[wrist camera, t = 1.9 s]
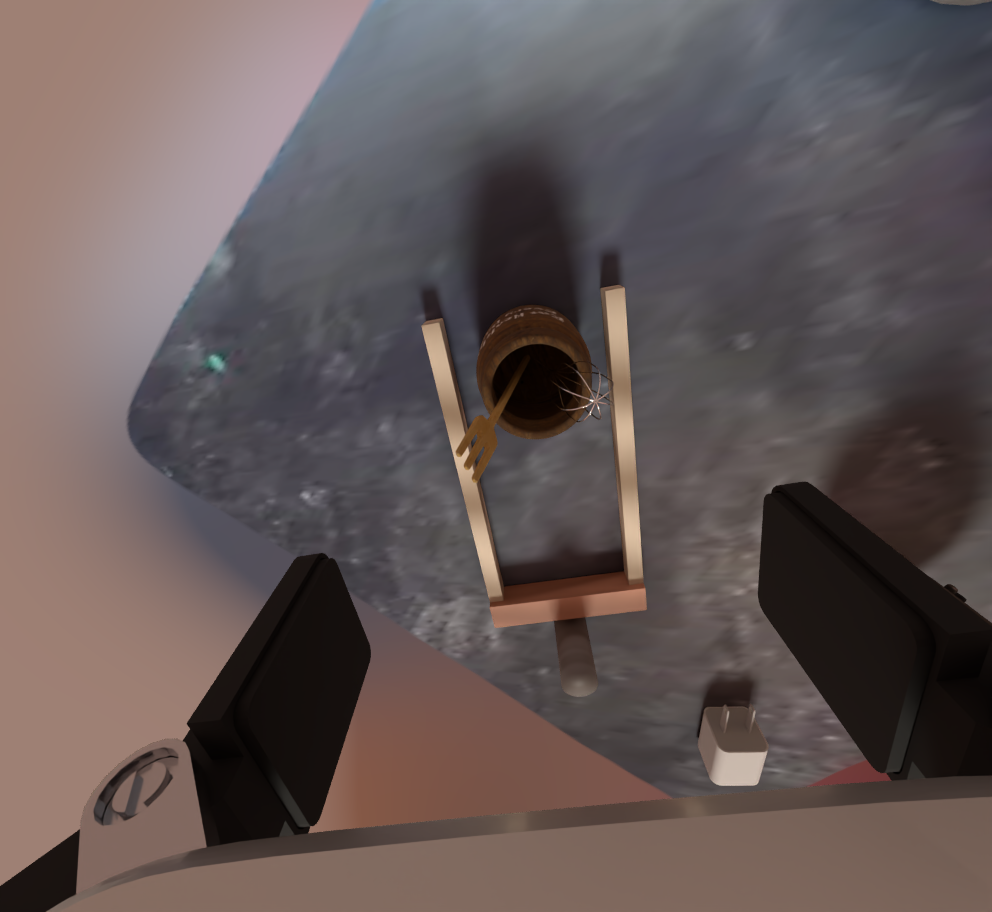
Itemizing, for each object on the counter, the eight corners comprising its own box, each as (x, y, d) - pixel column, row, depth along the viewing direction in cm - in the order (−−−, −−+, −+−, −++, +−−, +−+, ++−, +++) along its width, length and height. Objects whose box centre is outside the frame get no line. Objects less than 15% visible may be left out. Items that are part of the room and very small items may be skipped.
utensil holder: (597, 374, 28) (653, 463, 17) (503, 419, 29) (501, 528, 18) (555, 282, 26) (590, 316, 15) (457, 335, 27) (423, 402, 16)
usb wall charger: (695, 738, 42) (712, 785, 39) (704, 686, 39) (724, 731, 36) (740, 737, 42) (762, 785, 38) (753, 685, 39) (778, 730, 35)
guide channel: (425, 321, 27) (404, 342, 21) (618, 284, 26) (647, 297, 20) (502, 636, 37) (501, 704, 32) (641, 619, 36) (664, 687, 31)
